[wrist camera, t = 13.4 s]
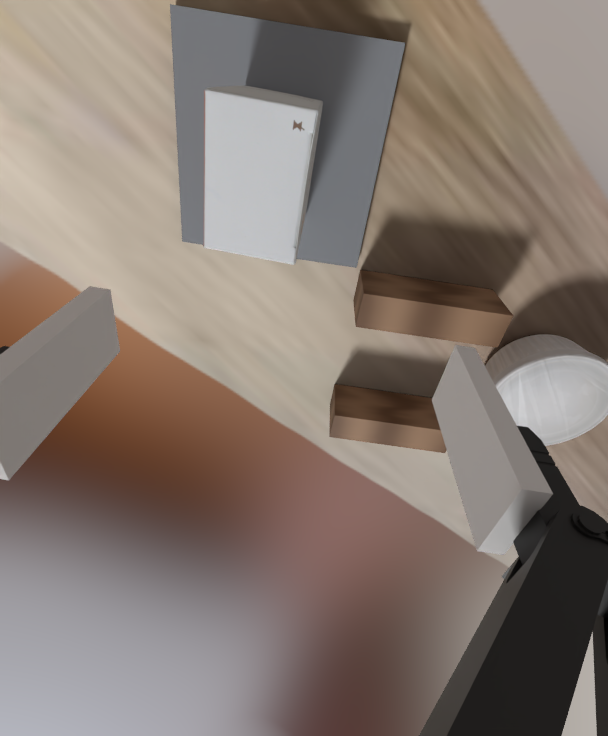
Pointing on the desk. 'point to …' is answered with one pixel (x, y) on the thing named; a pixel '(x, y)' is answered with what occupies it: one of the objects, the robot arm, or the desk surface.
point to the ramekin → (551, 386)
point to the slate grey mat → (298, 77)
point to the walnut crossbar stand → (421, 318)
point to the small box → (257, 170)
